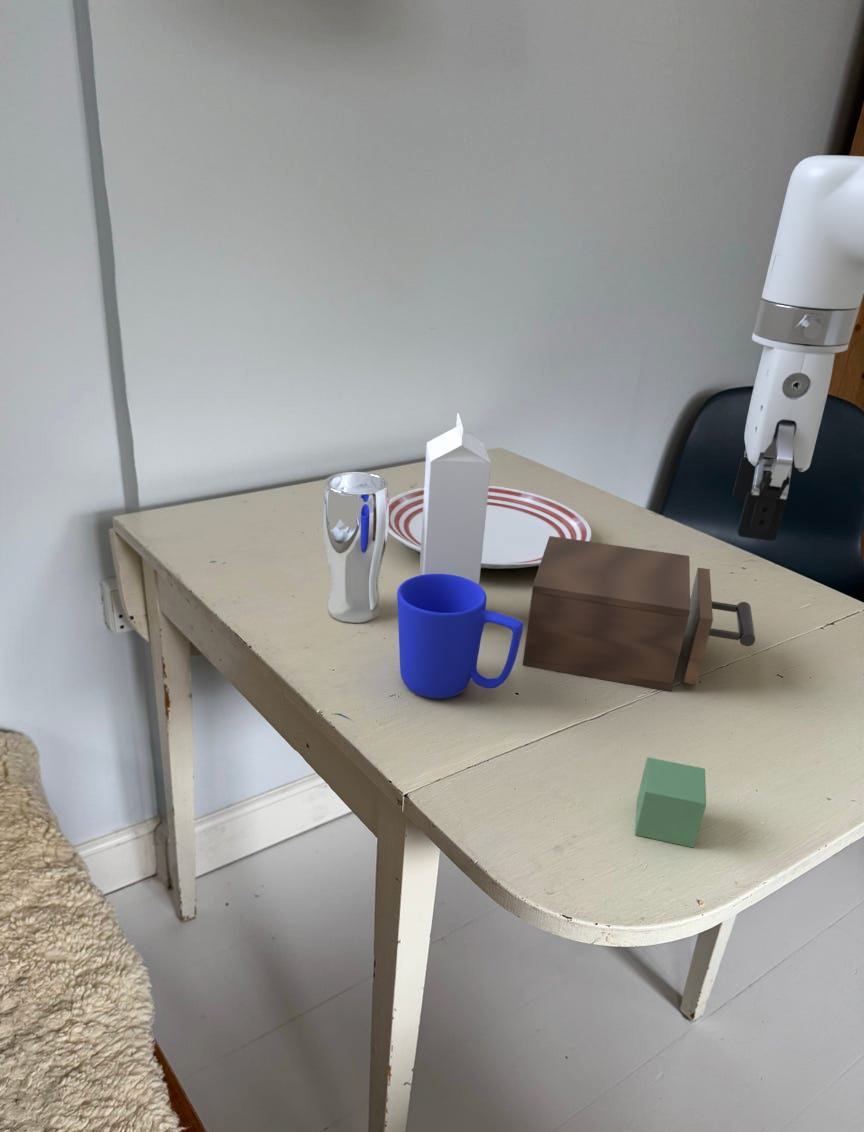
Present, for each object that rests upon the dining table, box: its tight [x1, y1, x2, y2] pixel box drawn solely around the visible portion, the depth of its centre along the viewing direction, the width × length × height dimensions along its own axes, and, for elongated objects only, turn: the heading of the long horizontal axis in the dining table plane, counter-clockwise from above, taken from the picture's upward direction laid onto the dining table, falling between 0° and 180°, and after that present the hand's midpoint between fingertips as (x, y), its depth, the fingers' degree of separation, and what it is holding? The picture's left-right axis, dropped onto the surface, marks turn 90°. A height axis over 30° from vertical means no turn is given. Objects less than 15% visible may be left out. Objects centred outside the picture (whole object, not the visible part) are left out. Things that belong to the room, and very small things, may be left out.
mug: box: [396, 574, 524, 700], centre depth 81 cm, size 8×12×10 cm
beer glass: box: [322, 471, 390, 624], centre depth 93 cm, size 7×7×15 cm
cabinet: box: [522, 536, 691, 692], centre depth 89 cm, size 15×13×9 cm
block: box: [634, 756, 707, 848], centre depth 67 cm, size 4×4×4 cm
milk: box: [418, 412, 492, 586], centre depth 91 cm, size 6×6×22 cm
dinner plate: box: [388, 485, 593, 570], centre depth 114 cm, size 27×27×3 cm
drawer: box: [682, 567, 756, 686], centre depth 88 cm, size 18×11×7 cm, turn 73°
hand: (752, 517), depth 81 cm, fingers open, 9 cm apart
